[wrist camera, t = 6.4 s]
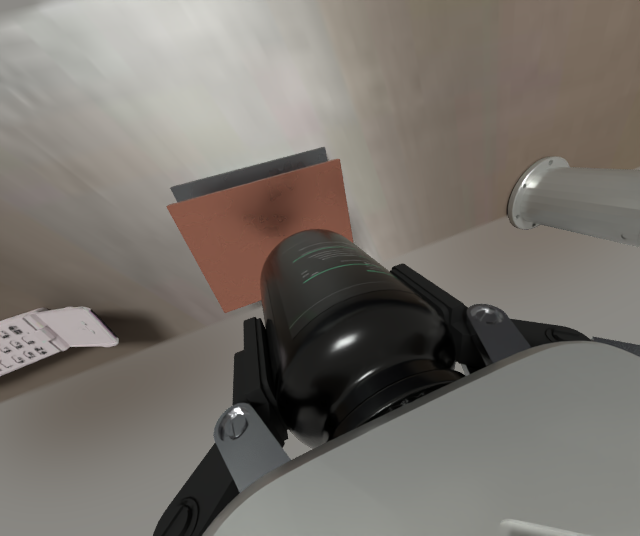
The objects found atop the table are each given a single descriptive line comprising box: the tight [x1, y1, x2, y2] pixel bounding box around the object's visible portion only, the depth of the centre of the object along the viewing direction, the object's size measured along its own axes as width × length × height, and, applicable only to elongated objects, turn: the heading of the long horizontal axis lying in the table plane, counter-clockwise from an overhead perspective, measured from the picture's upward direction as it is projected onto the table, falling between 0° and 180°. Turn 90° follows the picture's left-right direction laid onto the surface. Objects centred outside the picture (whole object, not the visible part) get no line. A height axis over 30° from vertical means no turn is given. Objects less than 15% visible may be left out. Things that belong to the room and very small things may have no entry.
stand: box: [166, 147, 353, 313], centre depth 27 cm, size 18×14×8 cm
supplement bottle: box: [260, 229, 465, 449], centre depth 10 cm, size 7×7×12 cm
